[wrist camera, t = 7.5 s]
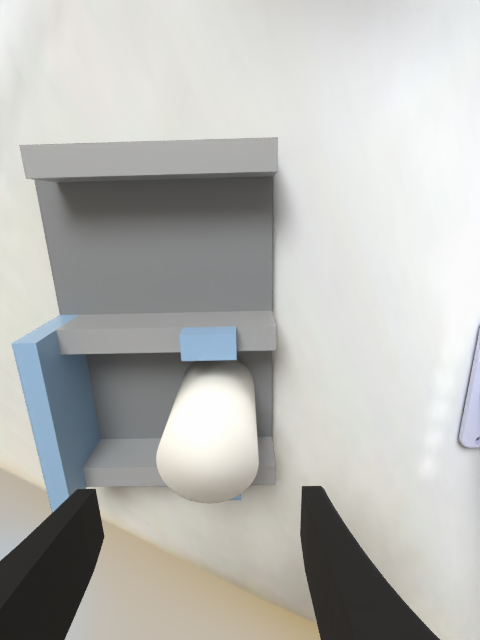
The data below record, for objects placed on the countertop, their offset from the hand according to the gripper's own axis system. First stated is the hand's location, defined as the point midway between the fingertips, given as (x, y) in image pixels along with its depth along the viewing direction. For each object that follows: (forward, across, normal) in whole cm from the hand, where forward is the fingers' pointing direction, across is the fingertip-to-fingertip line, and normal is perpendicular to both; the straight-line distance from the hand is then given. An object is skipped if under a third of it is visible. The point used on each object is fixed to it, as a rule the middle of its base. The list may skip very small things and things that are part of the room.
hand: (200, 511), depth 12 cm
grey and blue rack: (+9, +2, -4) cm, 10 cm away
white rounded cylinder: (+8, 0, 0) cm, 8 cm away
